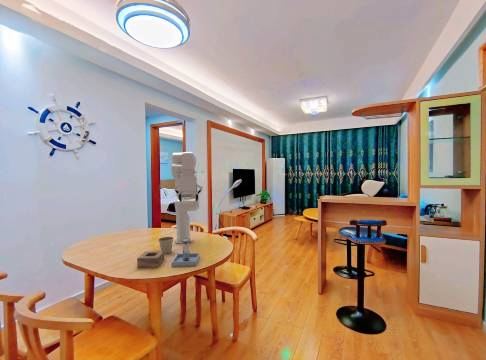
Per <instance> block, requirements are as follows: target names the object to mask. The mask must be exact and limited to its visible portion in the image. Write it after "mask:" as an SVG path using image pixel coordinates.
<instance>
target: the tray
mask: <svg viewBox="0 0 486 360" xmlns="http://www.w3.org/2000/svg"><path fill="white" fill-rule="evenodd" d="M199 260H200V252H190V261H183V253H176V254H175V256H174V258H173V259H172V260H171V267H172V268H174V267H175V268H177V267H178V268H179V267H197V265H198V263H199V262H198V261H199Z"/></svg>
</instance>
